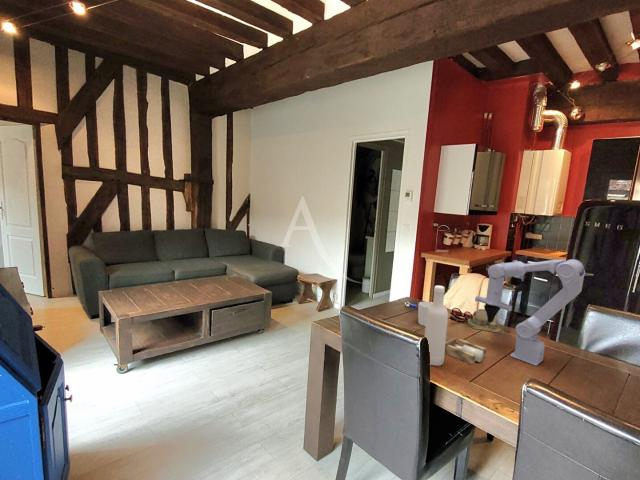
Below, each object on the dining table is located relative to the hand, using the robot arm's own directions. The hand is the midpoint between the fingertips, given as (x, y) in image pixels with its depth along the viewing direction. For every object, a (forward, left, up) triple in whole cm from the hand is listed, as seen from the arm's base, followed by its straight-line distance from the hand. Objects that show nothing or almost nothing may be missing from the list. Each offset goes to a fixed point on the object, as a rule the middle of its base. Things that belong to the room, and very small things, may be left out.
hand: (490, 321), depth 143 cm
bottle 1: (+6, +33, -11) cm, 35 cm away
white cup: (+29, +3, -11) cm, 31 cm away
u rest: (+2, +18, -10) cm, 21 cm away
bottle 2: (-5, +18, -8) cm, 21 cm away
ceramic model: (+10, -17, -11) cm, 23 cm away
